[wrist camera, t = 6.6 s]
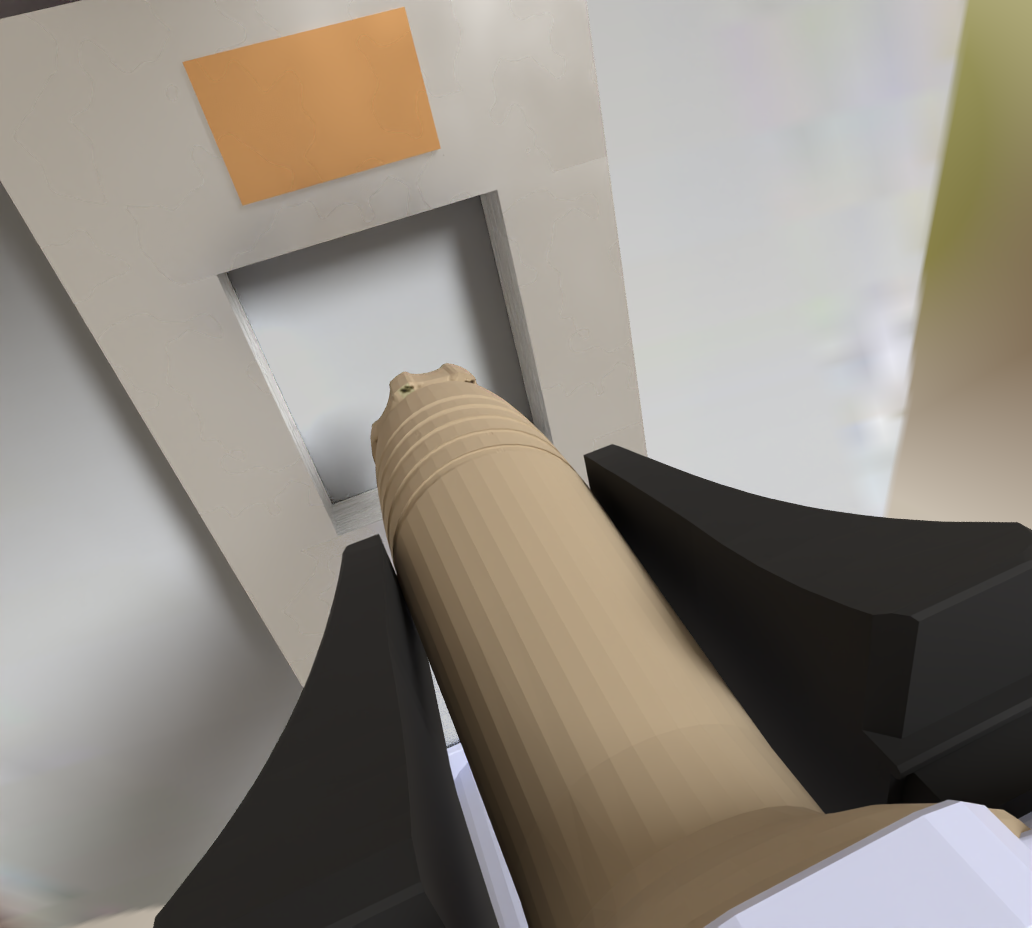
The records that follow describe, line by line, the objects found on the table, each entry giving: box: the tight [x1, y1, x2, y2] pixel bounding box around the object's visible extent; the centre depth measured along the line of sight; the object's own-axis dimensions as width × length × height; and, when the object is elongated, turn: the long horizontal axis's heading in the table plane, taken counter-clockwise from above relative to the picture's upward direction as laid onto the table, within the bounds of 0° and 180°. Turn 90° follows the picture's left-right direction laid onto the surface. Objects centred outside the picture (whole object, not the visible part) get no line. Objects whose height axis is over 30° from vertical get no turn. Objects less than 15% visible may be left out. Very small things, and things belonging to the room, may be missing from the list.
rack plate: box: [0, 0, 647, 688], centre depth 20 cm, size 20×14×2 cm
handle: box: [371, 363, 1031, 928], centre depth 11 cm, size 5×6×15 cm
